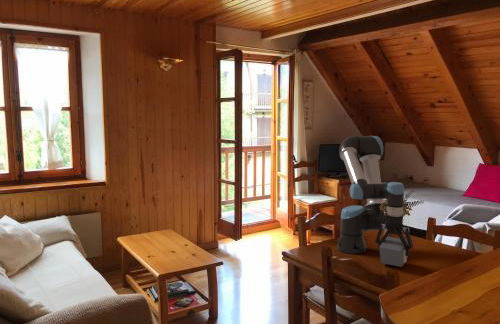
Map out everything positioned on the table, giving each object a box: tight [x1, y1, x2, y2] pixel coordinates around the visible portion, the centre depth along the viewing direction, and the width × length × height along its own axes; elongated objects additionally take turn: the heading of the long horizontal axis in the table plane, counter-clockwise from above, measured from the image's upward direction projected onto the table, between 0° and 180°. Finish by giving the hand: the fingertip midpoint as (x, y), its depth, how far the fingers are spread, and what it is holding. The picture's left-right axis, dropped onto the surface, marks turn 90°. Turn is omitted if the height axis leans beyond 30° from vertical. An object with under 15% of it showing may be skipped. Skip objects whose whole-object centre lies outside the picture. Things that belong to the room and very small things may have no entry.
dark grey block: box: [378, 236, 409, 268], centre depth 203 cm, size 10×10×9 cm
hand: (393, 259), depth 203 cm, fingers closed on dark grey block, 10 cm apart
